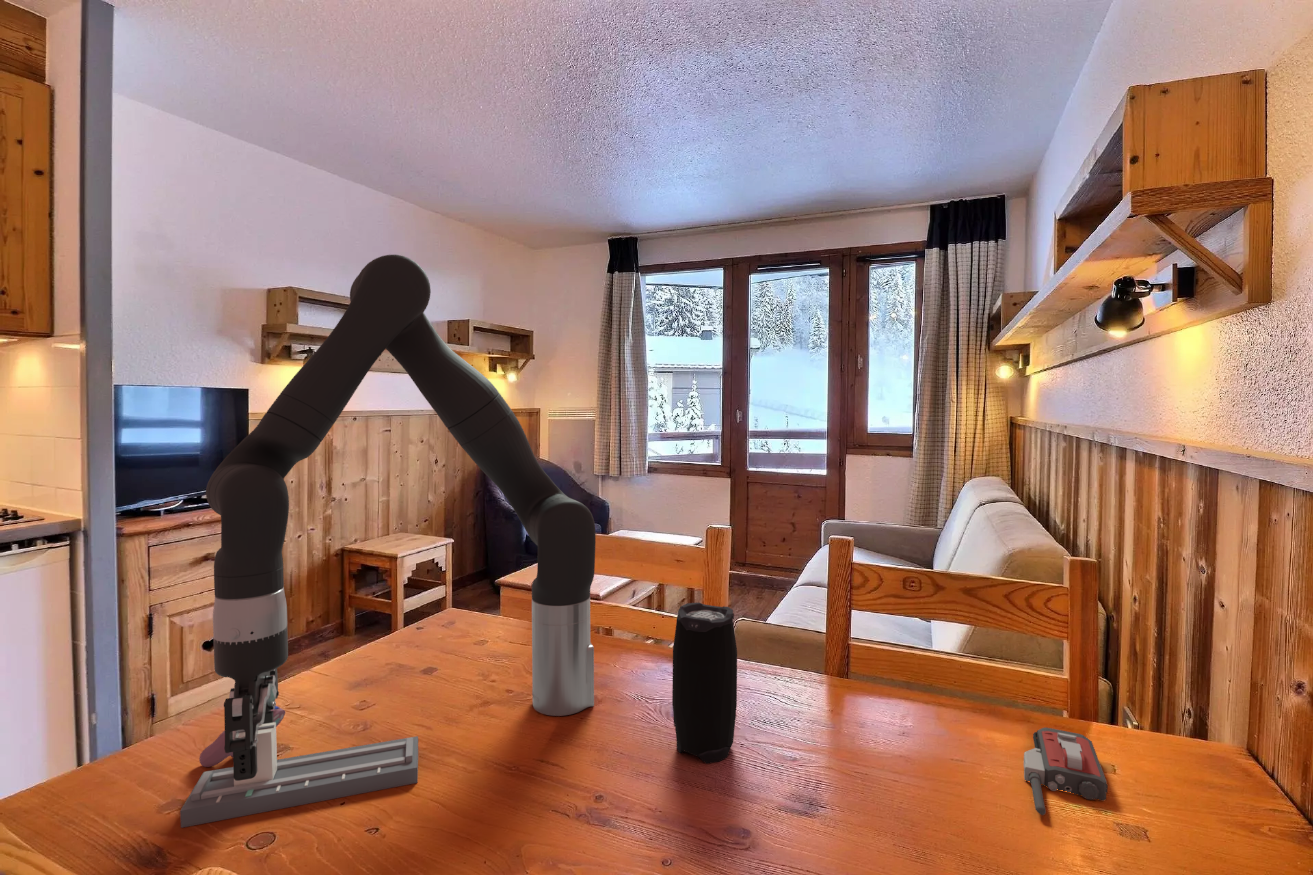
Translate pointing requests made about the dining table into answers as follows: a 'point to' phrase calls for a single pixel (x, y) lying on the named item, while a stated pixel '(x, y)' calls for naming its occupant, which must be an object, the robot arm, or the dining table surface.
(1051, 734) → the walkie-talkie
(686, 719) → the portable speaker
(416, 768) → the fader console
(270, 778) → the fader tab
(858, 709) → the dining table surface
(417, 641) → the dining table surface
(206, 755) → the video game controller
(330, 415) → the robot arm
